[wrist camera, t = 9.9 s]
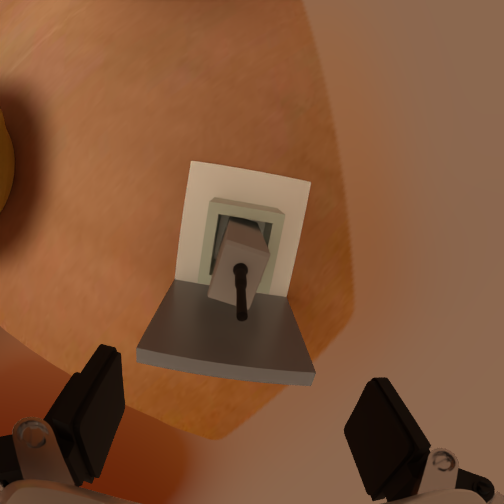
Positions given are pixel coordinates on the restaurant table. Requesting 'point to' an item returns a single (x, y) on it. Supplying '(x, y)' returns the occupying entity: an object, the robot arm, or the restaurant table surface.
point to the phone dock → (244, 192)
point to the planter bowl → (5, 163)
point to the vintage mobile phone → (239, 265)
